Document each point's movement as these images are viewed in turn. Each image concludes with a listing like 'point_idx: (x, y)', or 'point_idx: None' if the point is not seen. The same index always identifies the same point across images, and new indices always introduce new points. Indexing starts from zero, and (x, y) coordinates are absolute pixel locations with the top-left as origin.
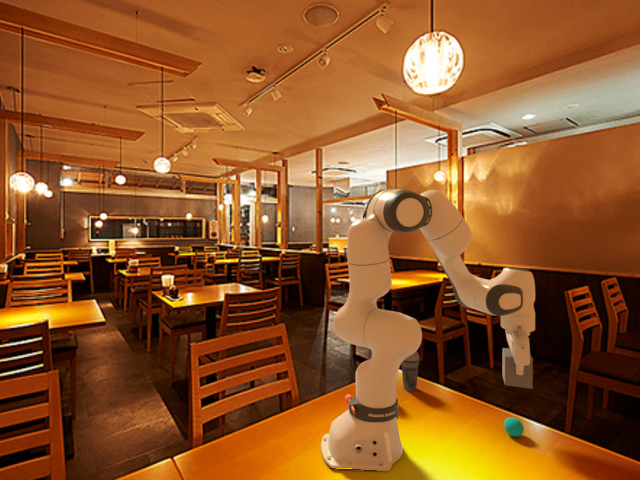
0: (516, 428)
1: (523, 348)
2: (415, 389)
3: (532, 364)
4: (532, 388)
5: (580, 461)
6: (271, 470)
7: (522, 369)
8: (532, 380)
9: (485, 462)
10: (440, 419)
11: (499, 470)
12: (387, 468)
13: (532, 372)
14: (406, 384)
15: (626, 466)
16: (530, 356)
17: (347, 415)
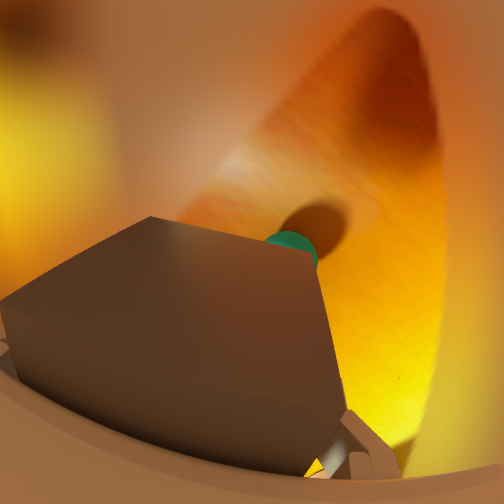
0: (316, 266)
1: (37, 415)
2: None
3: (334, 361)
4: (311, 253)
5: (393, 115)
6: None
7: (346, 412)
8: (315, 275)
9: (403, 354)
10: None
11: (429, 333)
12: (400, 473)
13: (325, 309)
14: None
15: (387, 17)
16: (219, 398)
17: None
